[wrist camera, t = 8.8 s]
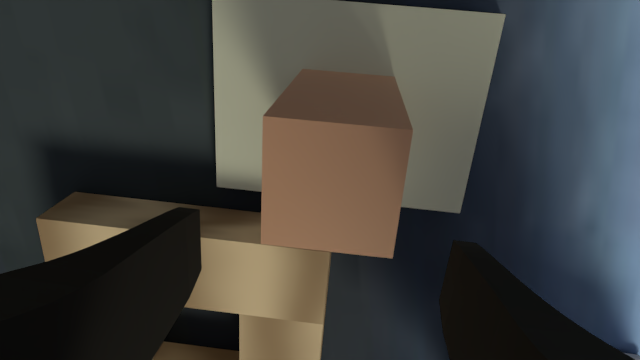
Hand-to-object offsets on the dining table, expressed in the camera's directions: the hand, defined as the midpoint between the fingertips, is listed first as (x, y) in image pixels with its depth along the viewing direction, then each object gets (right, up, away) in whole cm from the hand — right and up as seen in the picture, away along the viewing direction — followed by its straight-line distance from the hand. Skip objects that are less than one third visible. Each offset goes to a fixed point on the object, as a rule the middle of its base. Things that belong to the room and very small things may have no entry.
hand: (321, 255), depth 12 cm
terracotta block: (+1, +5, +7) cm, 9 cm away
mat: (+1, +5, +8) cm, 10 cm away
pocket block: (-7, -6, +13) cm, 16 cm away
